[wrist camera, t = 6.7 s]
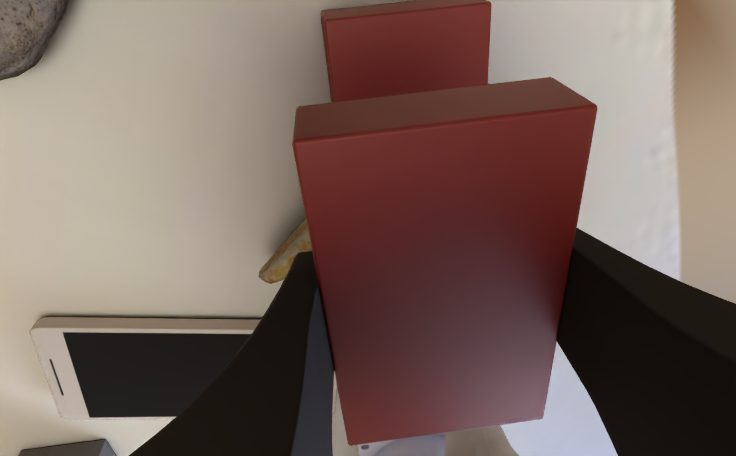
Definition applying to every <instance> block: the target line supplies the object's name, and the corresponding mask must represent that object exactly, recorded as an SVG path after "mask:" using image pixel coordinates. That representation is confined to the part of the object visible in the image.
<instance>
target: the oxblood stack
mask: <svg viewBox="0 0 736 456" xmlns="http://www.w3.org/2000/svg"><path fill="white" fill-rule="evenodd" d="M490 21H491V2H489V1H486V0H417V1H407V2H398V3H389V4H380V5H370V6H361V7H352V8H343V9H333V10H324V11H321V24H322V31H323V39H324V47H325V54H326V62H327V70H328V78H329V85H330V93H331V101H332V103H333V102H342V101H351V100H359V99H368V98H376V97H385V96H394V95H402V94H411V93H419V92H428V91H437V90H445V89H454V88H462V87H471V86H480V85H487V84H488V63H489V42H490Z"/></svg>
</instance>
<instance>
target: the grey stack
mask: <svg viewBox="0 0 736 456" xmlns="http://www.w3.org/2000/svg"><path fill="white" fill-rule="evenodd" d="M18 456H116V455H115V453H114V452H113V450H112V449H111V447H110V446H109V444H108V442H107V441H106V440H105V439H104V440H96V441H89V442H82V443H74V444H67V445H59V446H52V447H44V448H37V449H30V450H22V451H21V452H20V454H19V455H18Z"/></svg>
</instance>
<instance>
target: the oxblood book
mask: <svg viewBox="0 0 736 456" xmlns="http://www.w3.org/2000/svg"><path fill="white" fill-rule="evenodd" d="M596 113H597V106H596V105H595V104H594V103H592V102H591V101H589V100H587V99H586V98H584V97H583V96H581V95H579V94H578V93H576V92H575V91H573V90H571V89H570V88H568V87H566V86H565V85H563V84H562V83H560V82H558V81H557V80H555V79H554V78H551V77H549V78H540V79H531V80H523V81H514V82H506V83H497V84H488V85H480V86H471V87H462V88H454V89H445V90H437V91H428V92H419V93H411V94H402V95H394V96H385V97H376V98H368V99H359V100H351V101H342V102H333V103H325V104H316V105H307V106H299V107H298V108H297V109H296V116H295V125H294V134H293V143H292V145H293V150H294V156H295V161H296V167H297V172H298V177H299V183H300V188H301V193H302V199H303V204H304V210H305V215H306V220H307V226H308V231H309V237H310V242H311V247H312V253H313V258H314V264H315V269H316V274H317V280H318V285H319V290H320V296H321V301H322V307H323V312H324V317H325V323H326V328H327V334H328V339H329V344H330V350H331V355H332V360H333V366H334V371H335V377H336V382H337V387H338V393H339V398H340V404H341V409H342V414H343V420H344V425H345V430H346V436H347V441H348V444H349V445H351V446H352V445H359V444H367V443H374V442H381V441H388V440H395V439H403V438H410V437H417V436H424V435H432V434H439V433H446V432H453V431H460V430H468V429H475V428H482V427H489V426H496V425H504V424H511V423H518V422H525V421H532V420H540V419H542V418H543V415H544V409H545V403H546V398H547V392H548V386H549V380H550V375H551V369H552V363H553V358H554V352H555V346H556V341H557V335H558V329H559V324H560V318H561V312H562V307H563V301H564V295H565V289H566V284H567V278H568V272H569V267H570V261H571V255H572V250H573V244H574V238H575V233H576V227H577V221H578V215H579V210H580V204H581V198H582V193H583V187H584V181H585V176H586V170H587V164H588V159H589V153H590V147H591V142H592V136H593V130H594V124H595V119H596Z"/></svg>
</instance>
